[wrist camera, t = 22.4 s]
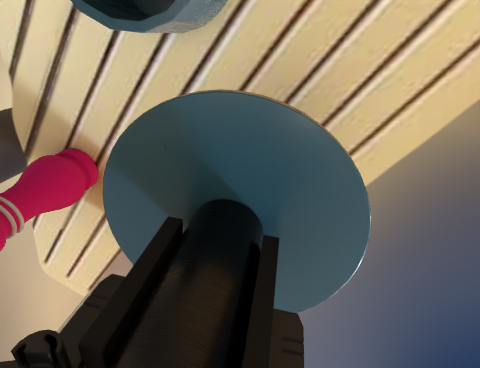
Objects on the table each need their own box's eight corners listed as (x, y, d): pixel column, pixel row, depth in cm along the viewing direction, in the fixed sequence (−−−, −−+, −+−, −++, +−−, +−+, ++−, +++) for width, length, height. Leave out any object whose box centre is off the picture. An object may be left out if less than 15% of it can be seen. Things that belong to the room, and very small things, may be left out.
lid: (126, 280, 21) (0, 463, 12) (95, 68, 13) (-276, 132, 5) (327, 324, 19) (353, 573, 10) (412, 111, 12) (734, 325, 3)
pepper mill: (110, 168, 40) (-32, 270, 23) (89, 197, 44) (-48, 305, 26) (67, 134, 39) (-118, 215, 22) (49, 167, 42) (-124, 259, 25)
